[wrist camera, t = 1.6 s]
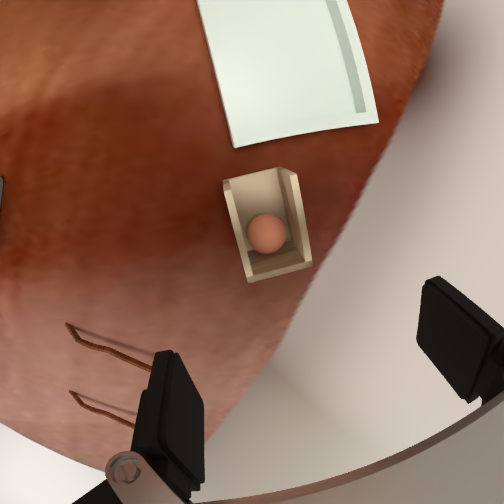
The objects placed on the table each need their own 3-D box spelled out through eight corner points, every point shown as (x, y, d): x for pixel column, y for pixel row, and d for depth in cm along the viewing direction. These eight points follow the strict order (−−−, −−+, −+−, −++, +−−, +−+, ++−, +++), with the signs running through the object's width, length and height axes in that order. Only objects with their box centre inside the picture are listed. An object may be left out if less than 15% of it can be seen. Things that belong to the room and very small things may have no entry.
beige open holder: (222, 180, 24) (223, 191, 19) (280, 166, 24) (296, 173, 19) (242, 255, 27) (248, 283, 22) (295, 241, 27) (313, 266, 22)
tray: (188, -29, 16) (186, -42, 14) (316, -41, 16) (324, -53, 14) (233, 147, 23) (234, 148, 21) (365, 123, 23) (378, 122, 21)
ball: (241, 212, 25) (243, 230, 22) (279, 203, 24) (286, 220, 22) (250, 244, 26) (253, 265, 24) (285, 236, 26) (292, 255, 23)
